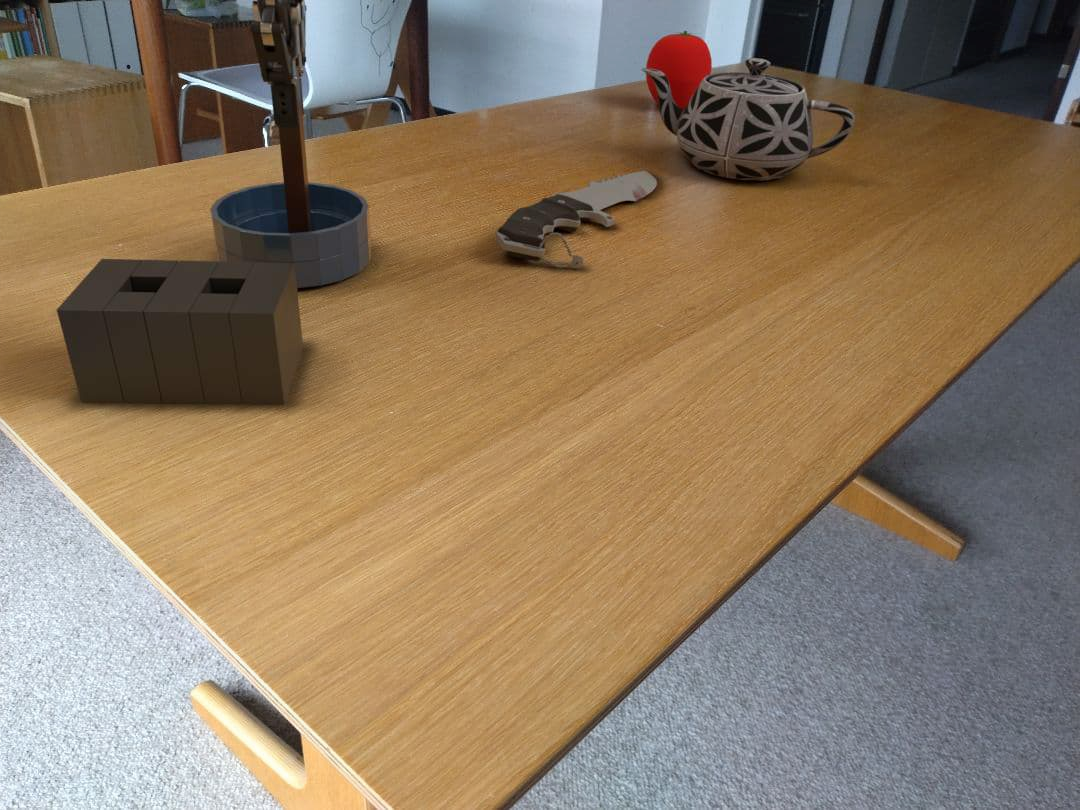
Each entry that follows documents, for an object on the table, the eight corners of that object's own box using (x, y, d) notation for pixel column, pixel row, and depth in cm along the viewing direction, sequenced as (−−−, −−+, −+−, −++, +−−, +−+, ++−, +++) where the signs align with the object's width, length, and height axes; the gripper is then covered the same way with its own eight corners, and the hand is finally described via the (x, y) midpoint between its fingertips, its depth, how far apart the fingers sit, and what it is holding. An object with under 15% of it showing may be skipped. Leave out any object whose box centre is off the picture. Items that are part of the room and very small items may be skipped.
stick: (290, 253, 89) (272, 68, 80) (294, 246, 91) (276, 64, 81) (310, 254, 90) (294, 69, 80) (313, 246, 91) (298, 65, 82)
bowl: (202, 292, 84) (192, 232, 81) (238, 232, 97) (230, 179, 94) (363, 295, 85) (359, 237, 82) (377, 236, 98) (374, 184, 95)
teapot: (649, 135, 140) (661, 34, 132) (846, 167, 131) (872, 61, 123) (611, 166, 125) (622, 55, 117) (831, 205, 116) (859, 87, 108)
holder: (81, 403, 67) (55, 309, 63) (121, 345, 75) (101, 258, 70) (284, 406, 68) (273, 313, 64) (303, 348, 76) (294, 262, 72)
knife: (590, 168, 123) (592, 138, 121) (662, 180, 120) (666, 150, 118) (483, 260, 94) (483, 223, 92) (574, 279, 91) (577, 241, 89)
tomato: (670, 119, 149) (680, 39, 142) (630, 104, 156) (638, 27, 149) (718, 113, 154) (731, 35, 147) (678, 98, 162) (688, 24, 155)
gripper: (243, -94, 80) (264, 102, 89) (204, -84, 68) (232, 141, 77) (327, -89, 80) (339, 105, 89) (302, -77, 69) (319, 144, 78)
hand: (289, 121), depth 83 cm, fingers closed on stick, 2 cm apart
